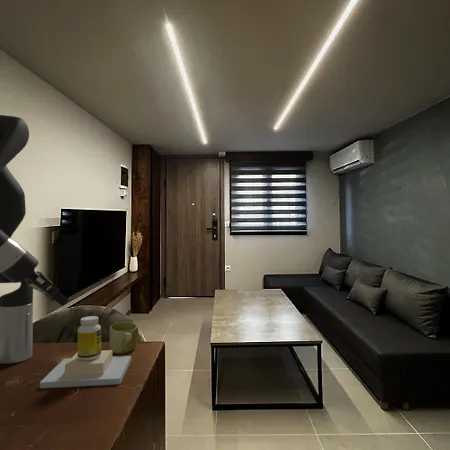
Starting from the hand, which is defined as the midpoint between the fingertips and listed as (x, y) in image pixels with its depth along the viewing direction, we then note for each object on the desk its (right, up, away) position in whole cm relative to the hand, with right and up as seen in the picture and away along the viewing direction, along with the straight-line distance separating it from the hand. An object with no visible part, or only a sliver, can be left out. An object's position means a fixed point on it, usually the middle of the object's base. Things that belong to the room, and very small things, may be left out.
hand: (60, 300), depth 88 cm
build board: (+6, -22, +4) cm, 23 cm away
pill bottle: (+6, -17, +4) cm, 19 cm away
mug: (+10, -22, +22) cm, 33 cm away
